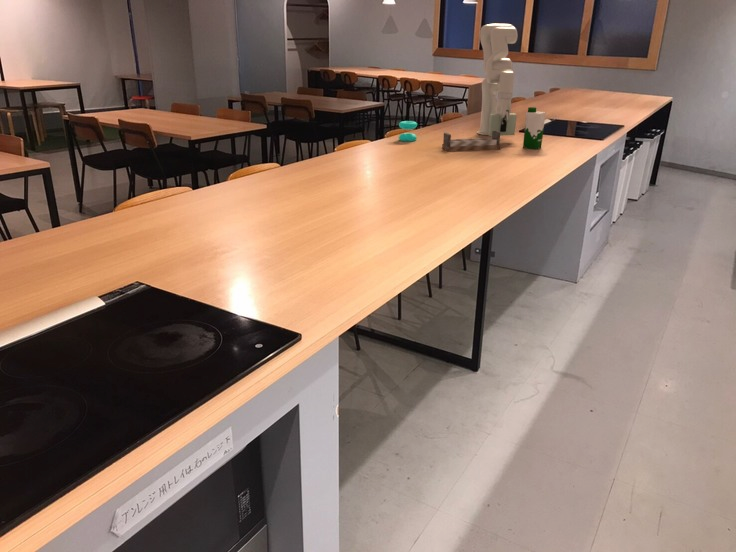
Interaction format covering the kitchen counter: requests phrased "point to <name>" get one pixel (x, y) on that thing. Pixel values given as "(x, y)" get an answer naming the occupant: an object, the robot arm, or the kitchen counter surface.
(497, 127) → the door panel
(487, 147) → the track base
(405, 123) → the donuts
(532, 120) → the milk carton
